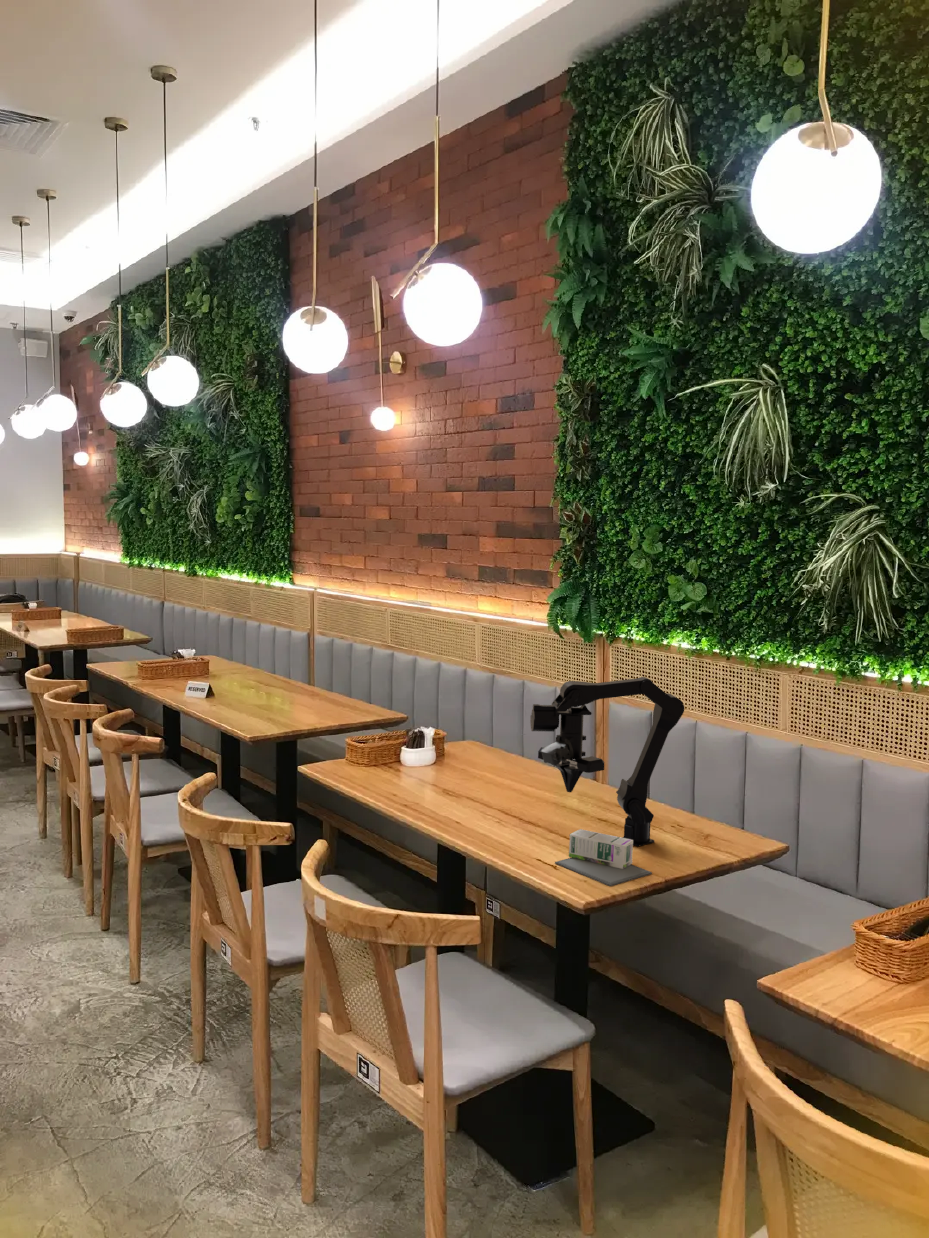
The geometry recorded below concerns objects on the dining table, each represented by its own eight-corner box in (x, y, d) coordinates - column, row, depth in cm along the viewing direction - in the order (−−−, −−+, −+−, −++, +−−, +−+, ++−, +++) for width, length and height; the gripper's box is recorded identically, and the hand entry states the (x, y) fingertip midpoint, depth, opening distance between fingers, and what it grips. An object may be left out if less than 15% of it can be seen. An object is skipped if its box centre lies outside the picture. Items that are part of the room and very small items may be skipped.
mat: (596, 852, 237) (596, 850, 237) (651, 873, 223) (652, 871, 223) (554, 863, 228) (554, 861, 228) (610, 886, 214) (610, 884, 214)
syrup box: (569, 833, 231) (624, 846, 223) (580, 828, 236) (634, 839, 228) (568, 856, 232) (623, 869, 224) (579, 850, 237) (633, 863, 229)
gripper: (523, 728, 245) (521, 788, 246) (574, 742, 230) (572, 805, 231) (554, 723, 252) (553, 782, 253) (606, 736, 237) (604, 798, 238)
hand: (569, 791), depth 244 cm, fingers closed
